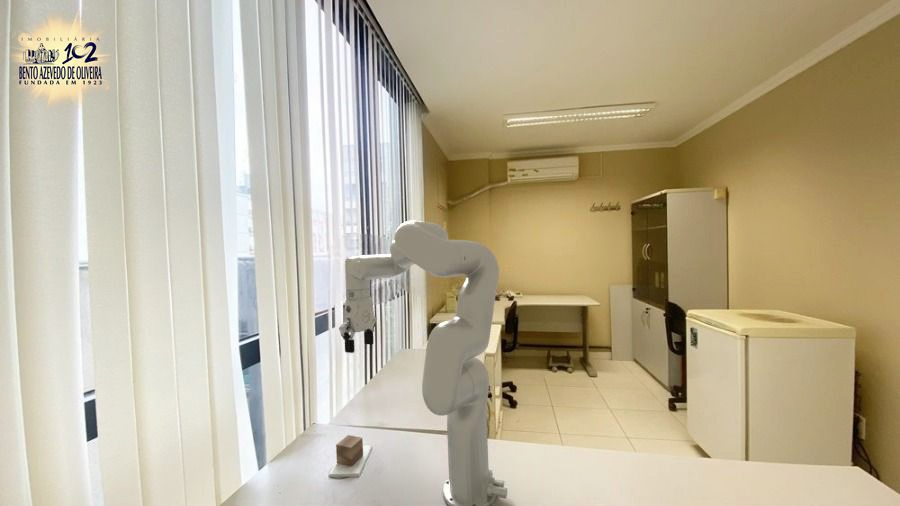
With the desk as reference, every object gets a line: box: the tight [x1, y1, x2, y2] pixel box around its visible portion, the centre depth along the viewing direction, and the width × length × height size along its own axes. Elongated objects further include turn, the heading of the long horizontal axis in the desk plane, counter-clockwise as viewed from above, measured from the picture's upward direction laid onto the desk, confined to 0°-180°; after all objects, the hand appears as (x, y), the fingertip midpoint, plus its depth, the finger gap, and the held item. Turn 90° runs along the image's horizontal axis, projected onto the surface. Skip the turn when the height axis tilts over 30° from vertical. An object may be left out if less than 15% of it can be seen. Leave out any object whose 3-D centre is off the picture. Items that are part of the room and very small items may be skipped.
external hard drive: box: [327, 445, 373, 478], centre depth 89 cm, size 2×8×12 cm
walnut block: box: [335, 434, 364, 466], centre depth 88 cm, size 5×5×5 cm
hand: (359, 348), depth 102 cm, fingers open, 9 cm apart
